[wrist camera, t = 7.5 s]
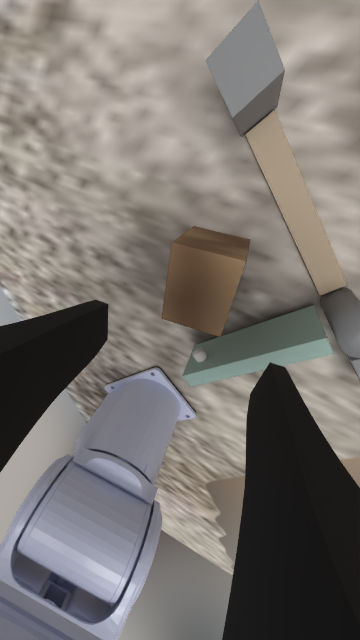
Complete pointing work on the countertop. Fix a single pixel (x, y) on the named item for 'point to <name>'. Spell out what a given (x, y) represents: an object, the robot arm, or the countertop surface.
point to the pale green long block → (259, 347)
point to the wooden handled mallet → (282, 163)
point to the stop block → (203, 278)
